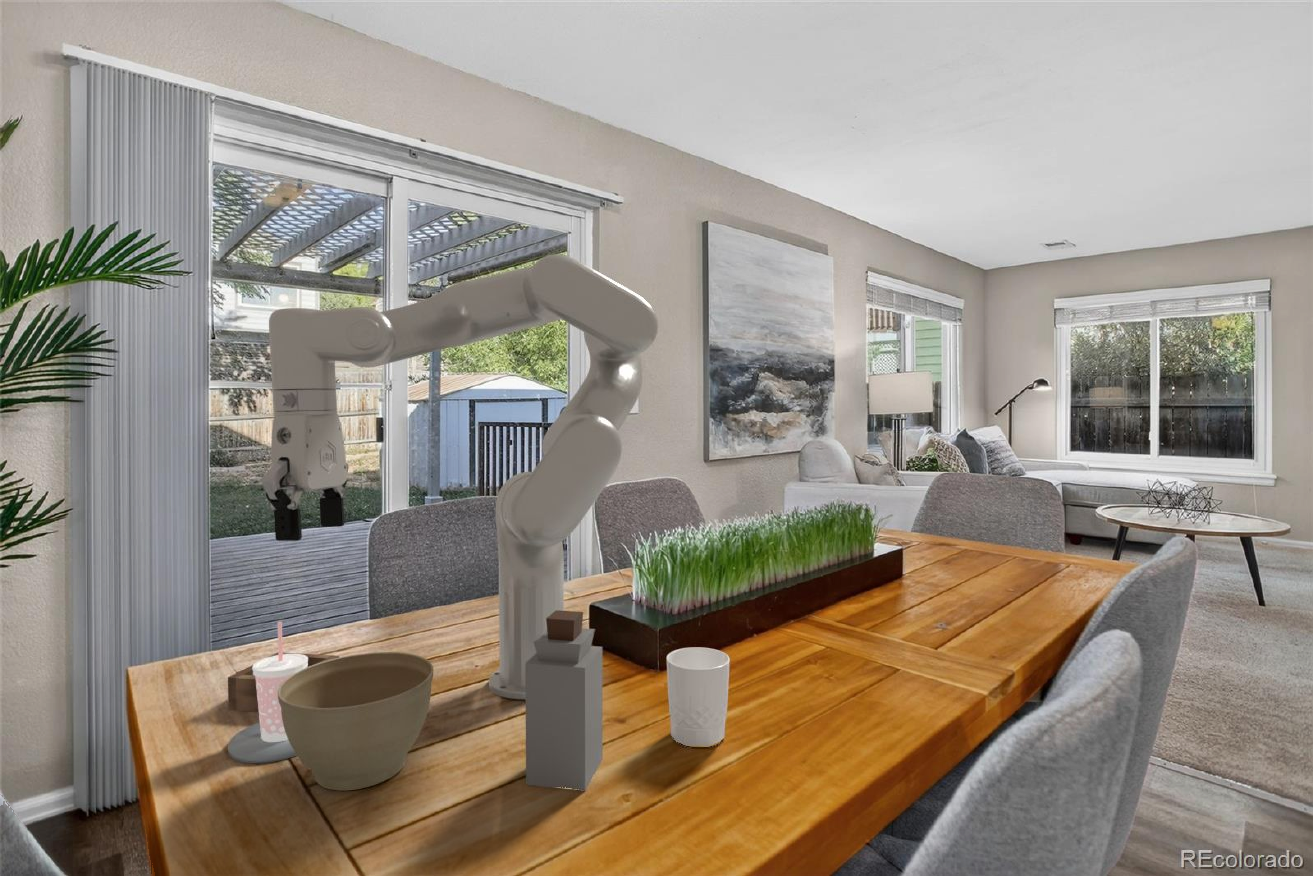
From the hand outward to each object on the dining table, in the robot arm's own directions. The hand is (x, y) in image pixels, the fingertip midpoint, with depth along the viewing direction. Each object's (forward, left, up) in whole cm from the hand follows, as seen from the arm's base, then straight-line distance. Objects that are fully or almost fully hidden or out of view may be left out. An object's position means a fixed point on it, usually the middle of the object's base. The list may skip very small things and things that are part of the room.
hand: (311, 532), depth 93 cm
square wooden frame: (+8, -4, -25) cm, 26 cm away
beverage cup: (0, +7, -24) cm, 25 cm away
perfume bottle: (-37, +10, -25) cm, 46 cm away
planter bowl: (-14, +13, -25) cm, 31 cm away
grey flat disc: (0, +8, -25) cm, 26 cm away
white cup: (-51, -1, -25) cm, 57 cm away
